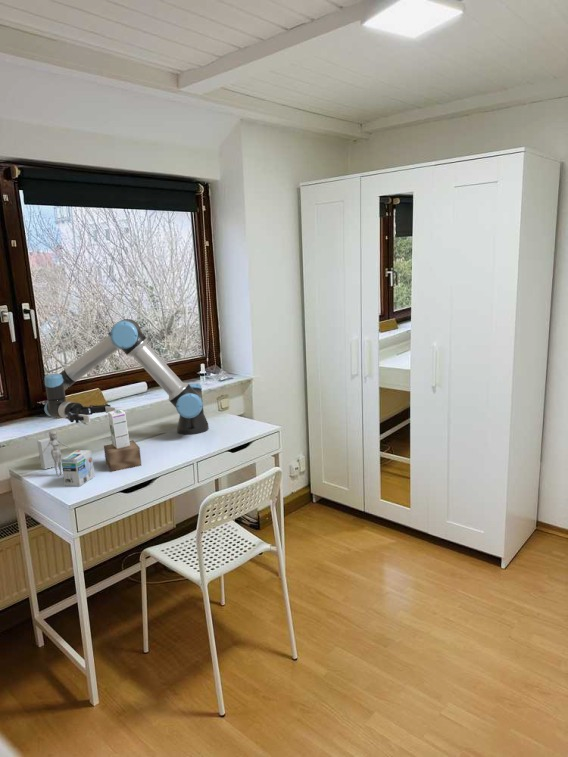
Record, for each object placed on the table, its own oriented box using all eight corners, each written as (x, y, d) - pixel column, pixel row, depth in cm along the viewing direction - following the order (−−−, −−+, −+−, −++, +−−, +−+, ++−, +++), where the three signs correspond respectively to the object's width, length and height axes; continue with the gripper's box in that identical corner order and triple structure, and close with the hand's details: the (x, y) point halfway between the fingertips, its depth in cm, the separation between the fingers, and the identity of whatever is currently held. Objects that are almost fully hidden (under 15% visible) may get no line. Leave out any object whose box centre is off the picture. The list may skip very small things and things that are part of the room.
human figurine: (45, 480, 218) (38, 435, 215) (41, 478, 221) (35, 434, 218) (75, 471, 226) (69, 428, 222) (72, 469, 229) (66, 427, 225)
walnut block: (135, 458, 239) (132, 440, 238) (141, 466, 229) (139, 447, 227) (106, 464, 234) (103, 445, 232) (111, 472, 223) (108, 453, 222)
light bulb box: (80, 486, 209) (76, 459, 207) (64, 486, 211) (60, 458, 209) (95, 476, 220) (91, 449, 217) (79, 476, 221) (76, 449, 219)
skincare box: (55, 464, 237) (51, 436, 235) (59, 466, 234) (55, 438, 232) (40, 468, 233) (36, 440, 231) (44, 470, 230) (40, 442, 228)
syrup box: (130, 446, 229) (126, 411, 226) (116, 449, 226) (111, 415, 222) (125, 442, 234) (121, 408, 230) (111, 445, 231) (107, 411, 227)
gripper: (96, 412, 257) (127, 415, 245) (47, 426, 237) (79, 431, 225) (94, 396, 256) (125, 399, 244) (44, 409, 236) (76, 413, 224)
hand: (103, 414), depth 235 cm, fingers open, 13 cm apart
